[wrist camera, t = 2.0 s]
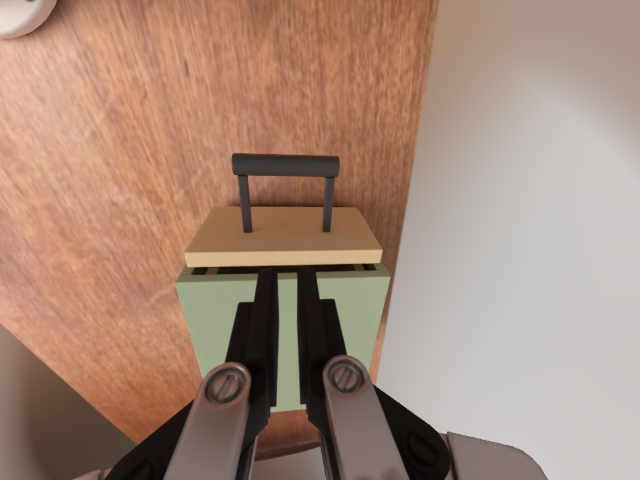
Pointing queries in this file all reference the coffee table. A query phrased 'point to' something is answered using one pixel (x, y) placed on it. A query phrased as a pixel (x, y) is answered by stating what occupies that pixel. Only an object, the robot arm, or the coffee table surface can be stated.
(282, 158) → the drawer
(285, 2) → the coffee table surface
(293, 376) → the cabinet
